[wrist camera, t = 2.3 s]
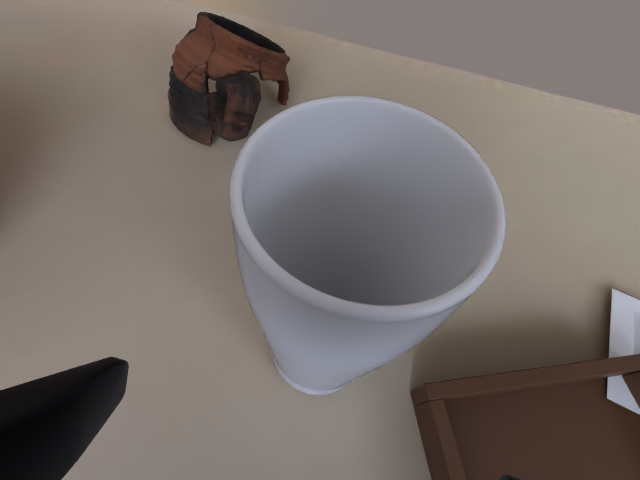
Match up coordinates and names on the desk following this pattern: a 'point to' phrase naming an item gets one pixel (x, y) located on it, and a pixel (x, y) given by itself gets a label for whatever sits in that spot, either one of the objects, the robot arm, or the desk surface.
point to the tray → (532, 424)
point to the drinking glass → (358, 233)
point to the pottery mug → (222, 78)
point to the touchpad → (623, 344)
